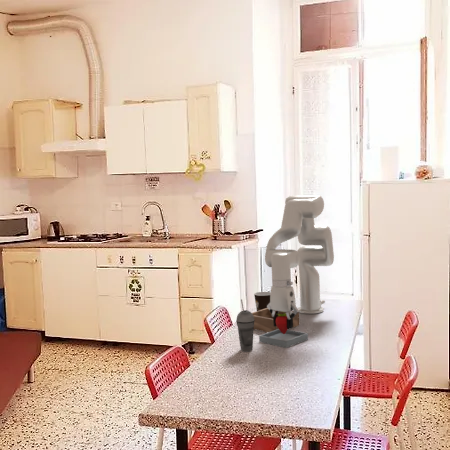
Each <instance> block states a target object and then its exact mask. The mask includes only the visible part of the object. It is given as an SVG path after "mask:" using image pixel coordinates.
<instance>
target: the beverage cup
mask: <svg viewBox="0 0 450 450" xmlns="http://www.w3.org/2000/svg"><path fill="white" fill-rule="evenodd" d="M240 302H241V309H242V310H241V311H240V312H238V314H237V315H236V320H235V322H236V326H237V327H236V328H237V331H238V339H239V346H240V351H241V352H246V353H247V352H252V351H253V349H254V348H253V346H254V321H255V320H254V316H253V314H252V313H253V312H252V311H249V310H247V309H246V310H245V309H244V302H243V299H242V298H241V299H240Z"/></svg>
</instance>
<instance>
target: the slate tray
mask: <svg viewBox="0 0 450 450" xmlns="http://www.w3.org/2000/svg"><path fill="white" fill-rule="evenodd" d="M307 340H309V334H308V333H307V332H303V331H298V330H292V329H288V330H287V331H286V333H285V334H282V332H281V331H280V330H279V329H277V330H274V331H271V332H266V333H263V334H261V335H260V334H259V336H258V341H259V343H264V344H267V345H272V346H277V347H280V348H281V347H282V348H286V349H288V348H289V347H293V346H295V345H298V344H299V343H302V342H305V341H307Z"/></svg>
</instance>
